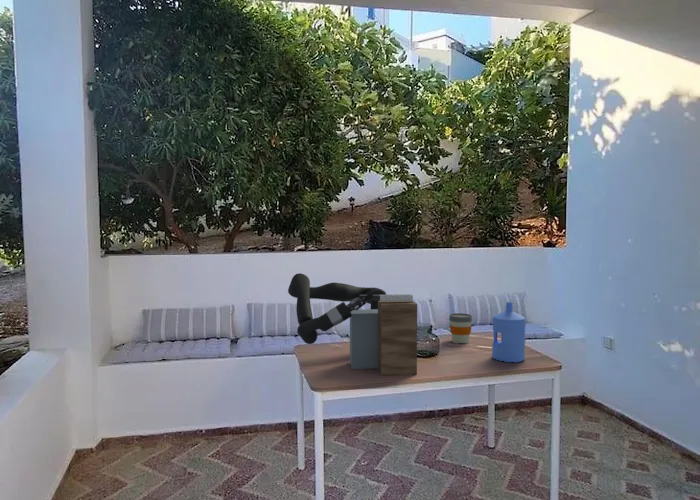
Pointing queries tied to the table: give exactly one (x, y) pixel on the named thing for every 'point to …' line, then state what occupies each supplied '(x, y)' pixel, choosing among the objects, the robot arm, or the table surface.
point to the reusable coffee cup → (460, 327)
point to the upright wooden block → (397, 338)
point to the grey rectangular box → (364, 339)
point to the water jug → (509, 336)
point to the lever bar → (389, 297)
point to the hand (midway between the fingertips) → (371, 294)
